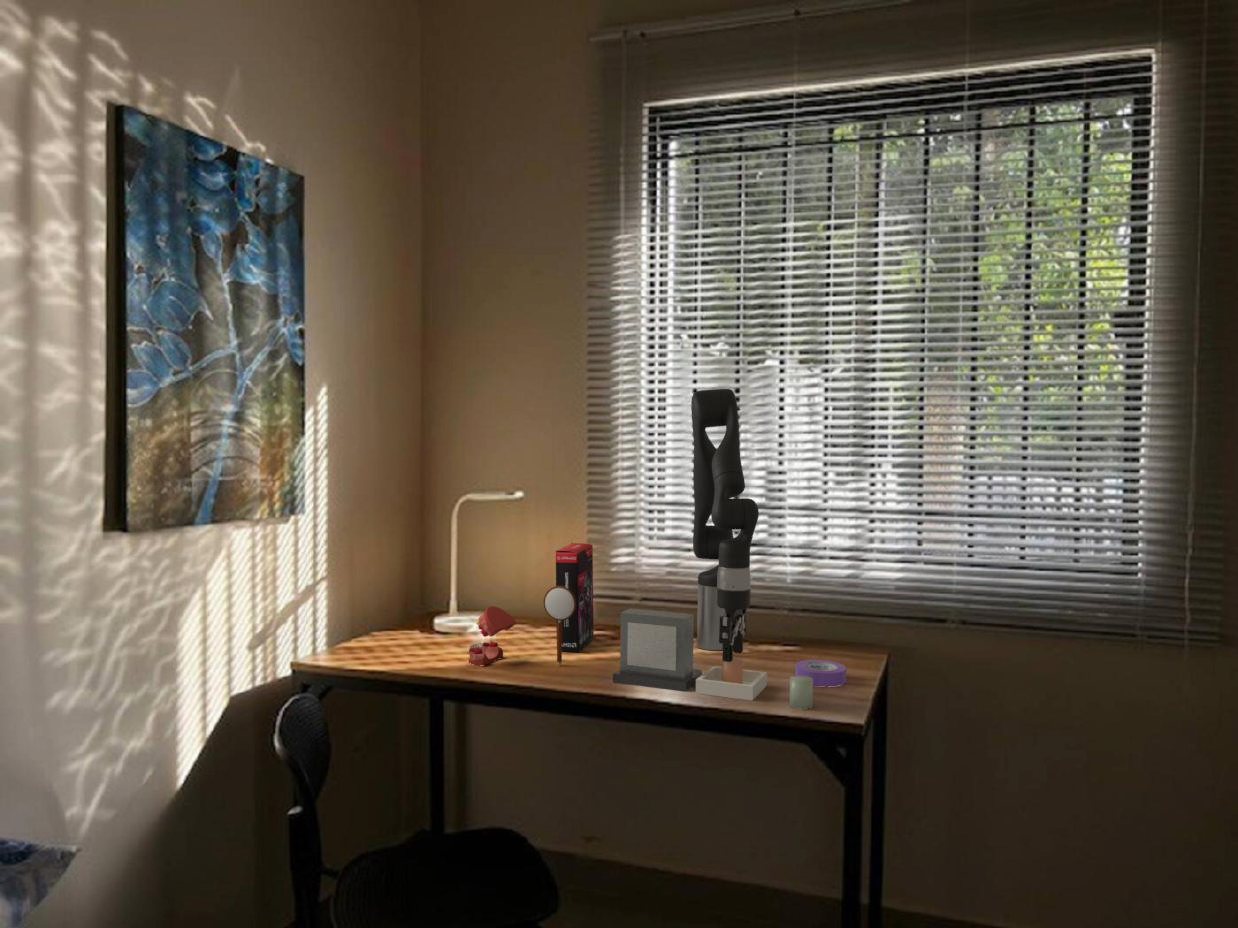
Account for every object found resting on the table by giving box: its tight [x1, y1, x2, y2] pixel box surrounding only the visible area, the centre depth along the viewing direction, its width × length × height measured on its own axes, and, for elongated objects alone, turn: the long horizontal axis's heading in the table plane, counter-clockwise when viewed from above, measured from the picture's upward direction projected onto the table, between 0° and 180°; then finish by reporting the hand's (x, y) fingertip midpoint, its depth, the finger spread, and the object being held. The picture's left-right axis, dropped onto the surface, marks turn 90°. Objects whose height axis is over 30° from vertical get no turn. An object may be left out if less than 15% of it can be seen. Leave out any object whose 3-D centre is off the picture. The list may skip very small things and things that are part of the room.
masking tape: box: [794, 659, 847, 687], centre depth 213 cm, size 12×12×4 cm
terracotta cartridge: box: [721, 657, 744, 684], centre depth 205 cm, size 5×5×6 cm
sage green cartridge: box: [789, 675, 814, 709], centre depth 193 cm, size 5×5×6 cm
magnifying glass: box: [543, 585, 576, 667], centre depth 224 cm, size 9×2×20 cm, turn 71°
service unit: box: [612, 607, 703, 692], centre depth 212 cm, size 12×18×16 cm, turn 67°
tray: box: [695, 665, 768, 701], centre depth 205 cm, size 13×13×3 cm
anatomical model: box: [467, 605, 517, 666], centre depth 228 cm, size 10×8×15 cm
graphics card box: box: [555, 542, 595, 653], centre depth 246 cm, size 17×7×27 cm, turn 168°
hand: (732, 656), depth 205 cm, fingers open, 8 cm apart
